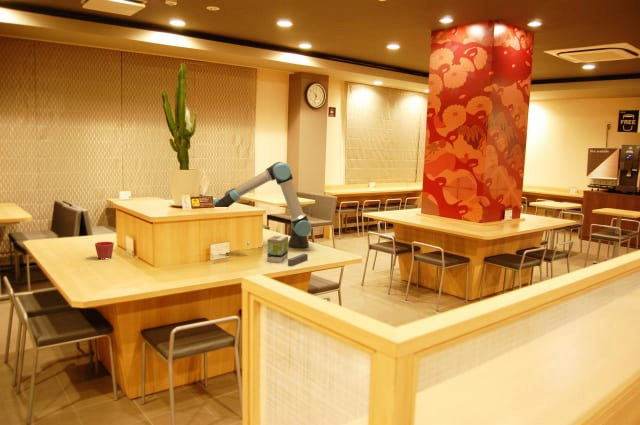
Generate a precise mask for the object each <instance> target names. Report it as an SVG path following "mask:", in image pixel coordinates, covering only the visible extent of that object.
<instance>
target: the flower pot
mask: <svg viewBox="0 0 640 425" xmlns="http://www.w3.org/2000/svg"><path fill="white" fill-rule="evenodd" d="M114 245H115V244H114V242H113V241H100V242H99V241H98V242H96V243H94V246H95V251H96V255H97V258H110V257H111V258H112V256H113V251H114ZM111 258H110V259H111Z"/></svg>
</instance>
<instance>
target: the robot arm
mask: <svg viewBox="0 0 640 425" xmlns="http://www.w3.org/2000/svg"><path fill="white" fill-rule="evenodd" d="M293 180H294V178H293V174H292V169H291V167H290V165H288V163H286V162H284V161H277V162H274V164H272V165H270V166H269V167H267V168H265V170H264V171H263V172H261V173H259V174H257V175H256V176H253V177H252V178H250V179H248V180H247V181H244V182H243V183H241V184H238V185H237V186H235V187H233V188H232V189H230V190H227V191H225V193H224V196H223V197H222V198H220V197H216V198H214V199H213V200H212V201H213V202H214V206H215V207H228V208H229V207H231V206H232V205H233V204H234V203H236V202H237V201H238V200H239V199H241V197H242V196H245V195H246V194H248V193H250V192H251V191H253V190H255V189H257V188H259V187H261V186H263V185H265V184H266V183H268V182H270V181H272V182H273V181H276V182H275V183H276V184H277V185H278V186H280V189H281V192H282V194H283V197H284V199H285V202H286V204H287V205H286V206H287V208H288V210H289V213H290V215H291V217H290V237H289V239H288V248H292V249H296V248H297V249H305V248H308V247H309V246H310V243H309V240H308V235H309V234H310V233H311V231H312V224H311V222H309V218H308V216H307V214H306V213H304V212H303V208H302V205H301V203H300V200H299V197H298V195H297V192H296V189H295V186H294V184H293ZM250 244H251V243H250V242H249V241H248V242H247V245H248V246H249V245H250Z"/></svg>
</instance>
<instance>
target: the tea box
mask: <svg viewBox="0 0 640 425" xmlns="http://www.w3.org/2000/svg"><path fill="white" fill-rule="evenodd" d="M288 242H289V236H284V235H273V236H272V237H269V238H268V239H267V248H266V249H267V250H266V252H267V253H266V254H267V255H266V262H269V263H277V264H278V263H283V262H284V261H285V260H286V259H287V260H288V259H289V258H288V254H289V246H288Z"/></svg>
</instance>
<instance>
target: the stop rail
mask: <svg viewBox="0 0 640 425" xmlns="http://www.w3.org/2000/svg"><path fill="white" fill-rule="evenodd" d="M308 256H309V255H308V253H301V254H298V255H296V256H294V257H291V258H287V266H288V267H294V266H297V265H299V264H301V263H304V262H307V261H308V258H309V257H308Z"/></svg>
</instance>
